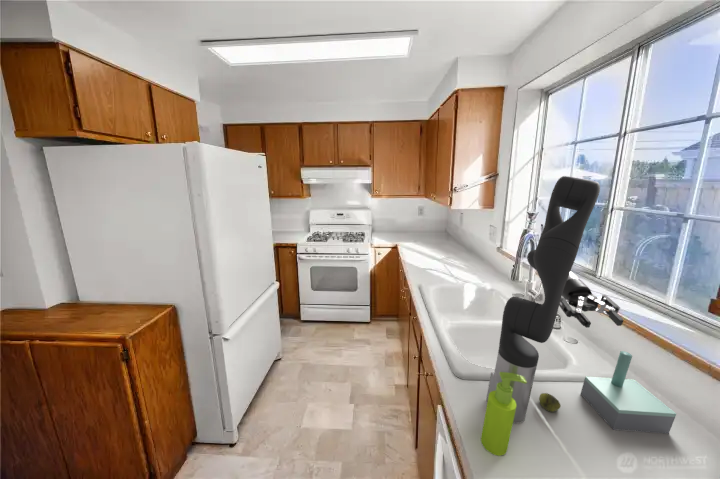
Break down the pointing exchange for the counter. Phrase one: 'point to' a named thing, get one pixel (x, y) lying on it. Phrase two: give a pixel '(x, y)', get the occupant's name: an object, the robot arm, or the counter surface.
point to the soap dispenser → (500, 415)
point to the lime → (549, 402)
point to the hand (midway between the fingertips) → (604, 324)
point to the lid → (628, 392)
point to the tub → (625, 415)
